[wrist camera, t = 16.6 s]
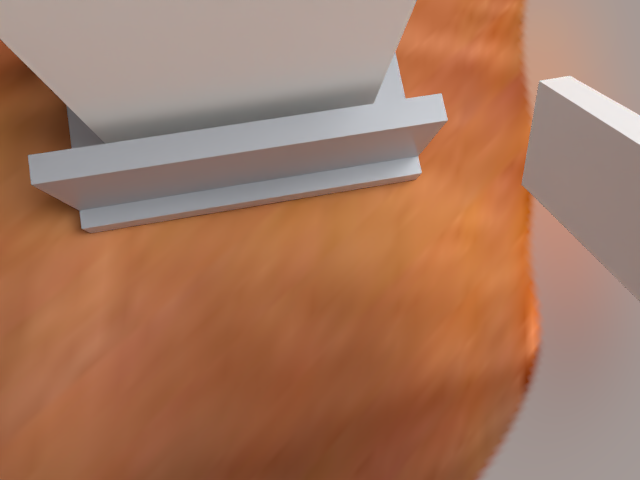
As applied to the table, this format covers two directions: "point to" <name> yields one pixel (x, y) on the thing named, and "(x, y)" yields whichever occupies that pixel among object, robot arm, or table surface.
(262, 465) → the table surface
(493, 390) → the table surface
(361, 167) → the board holder
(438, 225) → the table surface
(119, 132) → the tall board
